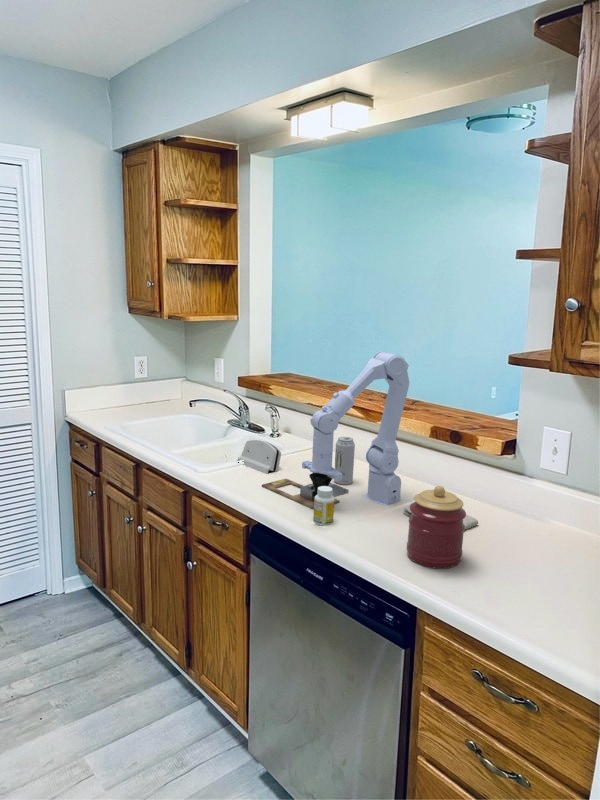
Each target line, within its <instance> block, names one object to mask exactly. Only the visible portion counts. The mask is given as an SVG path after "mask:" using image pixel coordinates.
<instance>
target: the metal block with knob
mask: <svg viewBox="0 0 600 800" xmlns="http://www.w3.org/2000/svg"><path fill="white" fill-rule="evenodd" d="M299 491H300V493H299V494H300V497H302V498H305V499H307V500H309V501H314V499H315V496H316V493H315V489H314V485H313V483H308V484H305V485H303V486H302V487H300V488H299Z"/></svg>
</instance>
